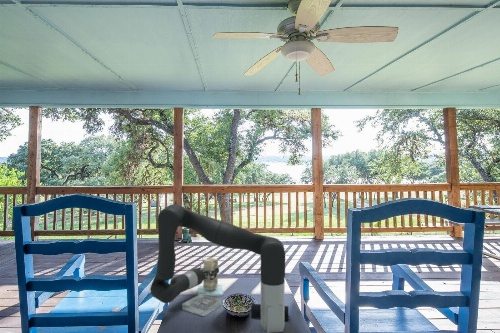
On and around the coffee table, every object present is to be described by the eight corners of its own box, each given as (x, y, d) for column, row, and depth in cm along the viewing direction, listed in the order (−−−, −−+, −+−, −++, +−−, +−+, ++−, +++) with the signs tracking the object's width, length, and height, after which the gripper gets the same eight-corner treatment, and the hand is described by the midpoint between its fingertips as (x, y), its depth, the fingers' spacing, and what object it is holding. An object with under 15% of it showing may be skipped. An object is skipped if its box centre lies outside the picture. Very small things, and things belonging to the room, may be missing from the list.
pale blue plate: (223, 295, 139) (223, 293, 139) (198, 297, 137) (198, 295, 137) (221, 286, 151) (221, 284, 151) (198, 287, 149) (198, 285, 149)
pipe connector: (254, 294, 128) (288, 296, 126) (254, 306, 128) (288, 309, 126) (251, 306, 117) (288, 309, 115) (251, 319, 117) (288, 322, 114)
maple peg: (211, 290, 140) (211, 261, 141) (203, 288, 143) (203, 259, 143) (217, 287, 145) (217, 259, 145) (209, 285, 147) (210, 257, 148)
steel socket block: (203, 316, 118) (203, 310, 118) (182, 309, 124) (182, 303, 124) (221, 305, 128) (221, 299, 128) (200, 299, 134) (200, 293, 135)
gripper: (203, 273, 128) (225, 263, 143) (179, 268, 136) (203, 259, 150) (202, 290, 128) (225, 279, 142) (179, 284, 135) (203, 273, 150)
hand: (213, 269), depth 146 cm, fingers closed on maple peg, 5 cm apart
